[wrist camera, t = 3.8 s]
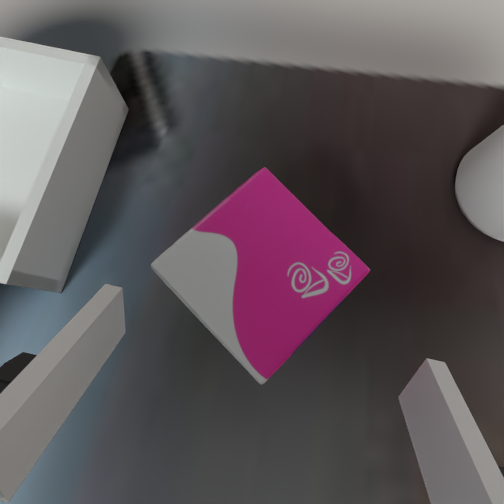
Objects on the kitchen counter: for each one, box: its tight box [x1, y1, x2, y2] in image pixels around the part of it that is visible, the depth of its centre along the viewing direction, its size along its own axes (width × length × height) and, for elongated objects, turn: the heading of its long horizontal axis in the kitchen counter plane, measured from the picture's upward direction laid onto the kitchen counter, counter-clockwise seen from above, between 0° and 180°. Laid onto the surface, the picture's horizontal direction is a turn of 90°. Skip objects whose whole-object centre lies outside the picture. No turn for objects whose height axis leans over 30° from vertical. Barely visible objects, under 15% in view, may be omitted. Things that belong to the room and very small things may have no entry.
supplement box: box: [151, 167, 370, 384], centre depth 16 cm, size 6×6×12 cm
